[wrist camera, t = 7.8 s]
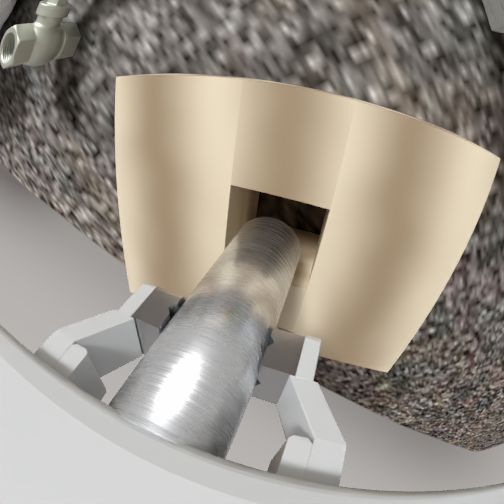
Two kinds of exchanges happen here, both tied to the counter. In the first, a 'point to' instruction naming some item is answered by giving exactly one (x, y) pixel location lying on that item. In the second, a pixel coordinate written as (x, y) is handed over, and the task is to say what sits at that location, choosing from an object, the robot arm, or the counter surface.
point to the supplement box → (495, 14)
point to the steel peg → (215, 343)
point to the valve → (41, 37)
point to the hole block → (298, 199)
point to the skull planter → (5, 10)
